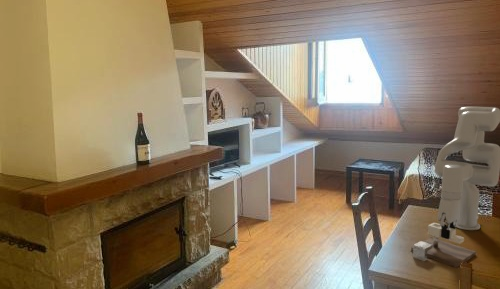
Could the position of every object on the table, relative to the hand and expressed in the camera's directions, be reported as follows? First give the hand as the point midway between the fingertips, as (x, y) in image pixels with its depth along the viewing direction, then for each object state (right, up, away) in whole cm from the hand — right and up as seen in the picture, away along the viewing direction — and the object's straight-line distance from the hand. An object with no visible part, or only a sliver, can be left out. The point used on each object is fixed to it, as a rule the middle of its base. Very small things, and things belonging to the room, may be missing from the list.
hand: (447, 236), depth 161 cm
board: (-1, -8, +2) cm, 8 cm away
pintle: (-3, -6, +5) cm, 8 cm away
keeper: (-11, -8, -1) cm, 14 cm away
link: (0, -1, +1) cm, 1 cm away
